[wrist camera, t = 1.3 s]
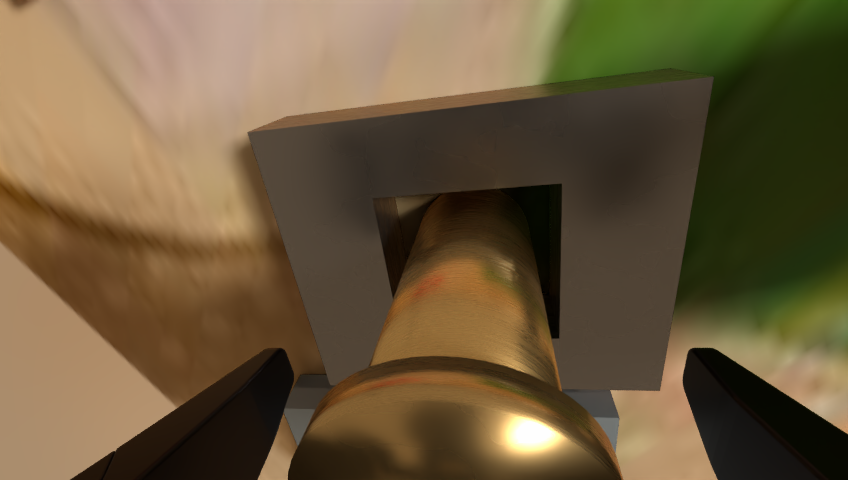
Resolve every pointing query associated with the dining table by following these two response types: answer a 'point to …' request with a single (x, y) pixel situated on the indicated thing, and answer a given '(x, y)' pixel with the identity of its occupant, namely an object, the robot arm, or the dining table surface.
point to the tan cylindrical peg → (459, 368)
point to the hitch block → (491, 169)
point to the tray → (317, 386)
